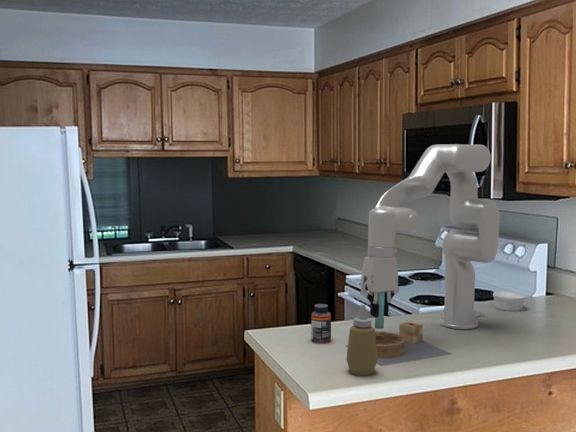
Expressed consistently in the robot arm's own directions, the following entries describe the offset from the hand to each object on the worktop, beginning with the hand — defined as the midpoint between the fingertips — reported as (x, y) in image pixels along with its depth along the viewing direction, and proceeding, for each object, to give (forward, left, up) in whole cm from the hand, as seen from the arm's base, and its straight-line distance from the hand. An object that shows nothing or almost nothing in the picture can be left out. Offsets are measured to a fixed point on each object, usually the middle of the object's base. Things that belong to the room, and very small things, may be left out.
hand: (379, 315), depth 178 cm
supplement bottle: (+11, -15, -11) cm, 21 cm away
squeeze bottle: (+14, +13, -11) cm, 22 cm away
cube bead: (-14, -4, -10) cm, 18 cm away
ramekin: (-72, -23, -11) cm, 77 cm away
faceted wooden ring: (0, 0, -10) cm, 10 cm away
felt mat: (-5, +2, -11) cm, 12 cm away
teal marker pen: (0, 0, -4) cm, 4 cm away
